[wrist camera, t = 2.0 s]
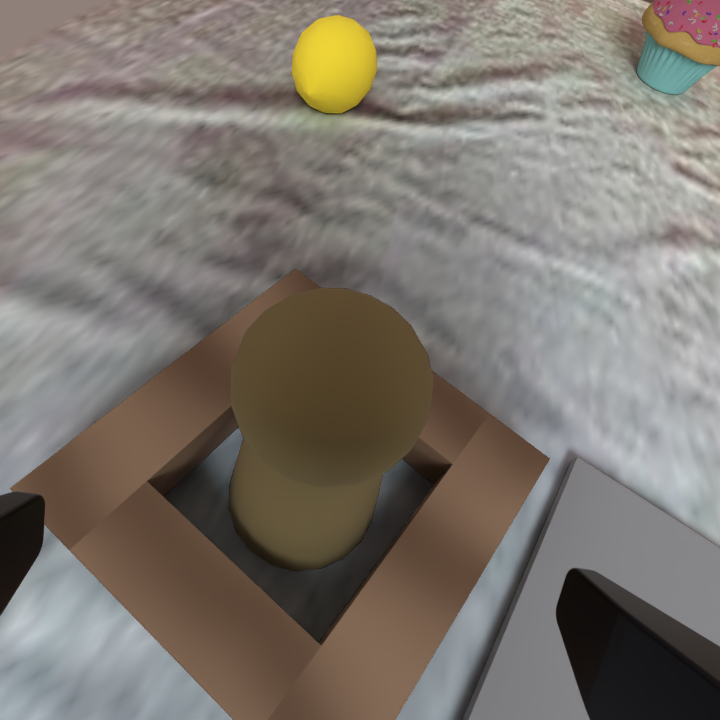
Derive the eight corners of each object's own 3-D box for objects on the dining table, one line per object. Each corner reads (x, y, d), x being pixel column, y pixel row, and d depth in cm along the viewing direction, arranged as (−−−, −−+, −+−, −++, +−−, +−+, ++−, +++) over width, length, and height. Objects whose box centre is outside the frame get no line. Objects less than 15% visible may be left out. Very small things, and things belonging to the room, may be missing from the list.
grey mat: (856, 1130, 14) (878, 1147, 14) (432, 789, 17) (437, 792, 16) (866, 651, 22) (880, 650, 21) (570, 461, 24) (577, 456, 23)
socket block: (323, 804, 16) (333, 823, 14) (36, 509, 19) (9, 488, 17) (523, 478, 23) (549, 458, 21) (291, 301, 26) (295, 268, 24)
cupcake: (721, 99, 47) (849, -59, 37) (666, 115, 43) (791, -54, 33) (652, 48, 50) (752, -110, 40) (596, 60, 46) (690, -110, 36)
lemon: (342, 147, 34) (350, 72, 29) (273, 114, 35) (269, 35, 30) (387, 88, 37) (401, 12, 32) (323, 59, 38) (327, -21, 33)
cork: (218, 438, 22) (192, 261, 12) (354, 414, 23) (420, 242, 14) (240, 589, 19) (228, 503, 10) (393, 549, 20) (508, 443, 11)
